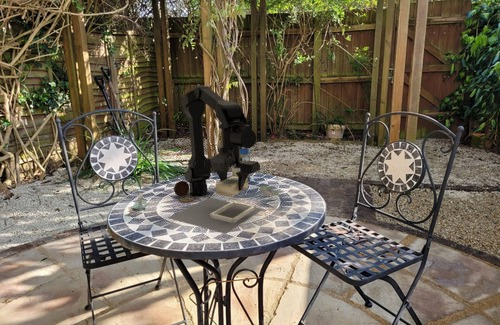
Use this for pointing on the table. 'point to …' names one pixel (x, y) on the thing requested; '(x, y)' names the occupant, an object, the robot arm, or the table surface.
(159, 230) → the table surface
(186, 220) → the mat
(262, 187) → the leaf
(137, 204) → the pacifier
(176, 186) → the compass
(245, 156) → the beverage bottle
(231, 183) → the slab
